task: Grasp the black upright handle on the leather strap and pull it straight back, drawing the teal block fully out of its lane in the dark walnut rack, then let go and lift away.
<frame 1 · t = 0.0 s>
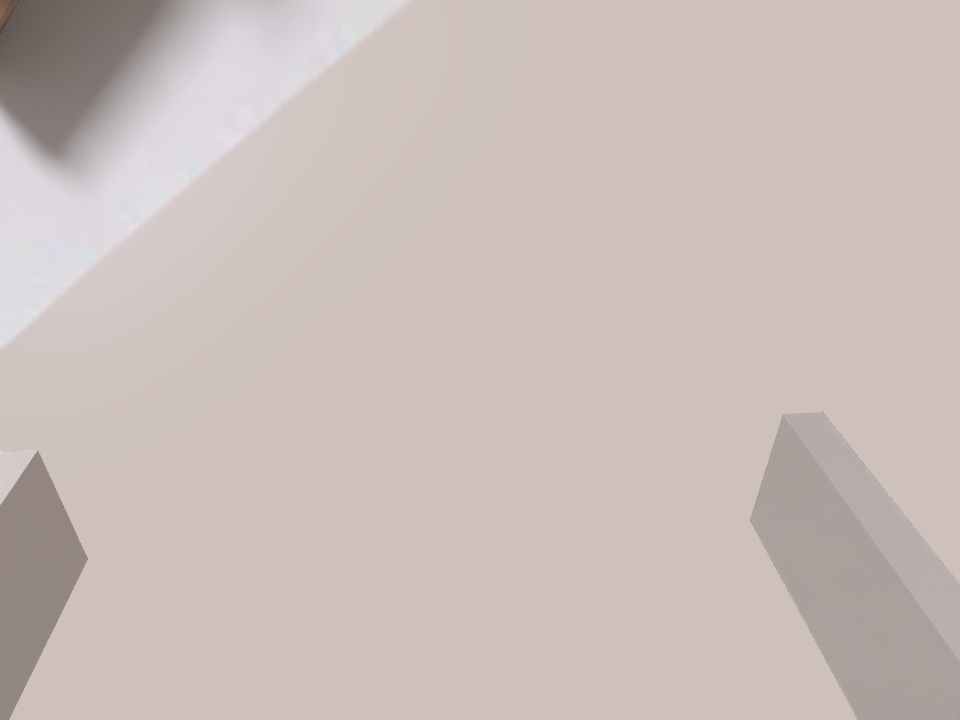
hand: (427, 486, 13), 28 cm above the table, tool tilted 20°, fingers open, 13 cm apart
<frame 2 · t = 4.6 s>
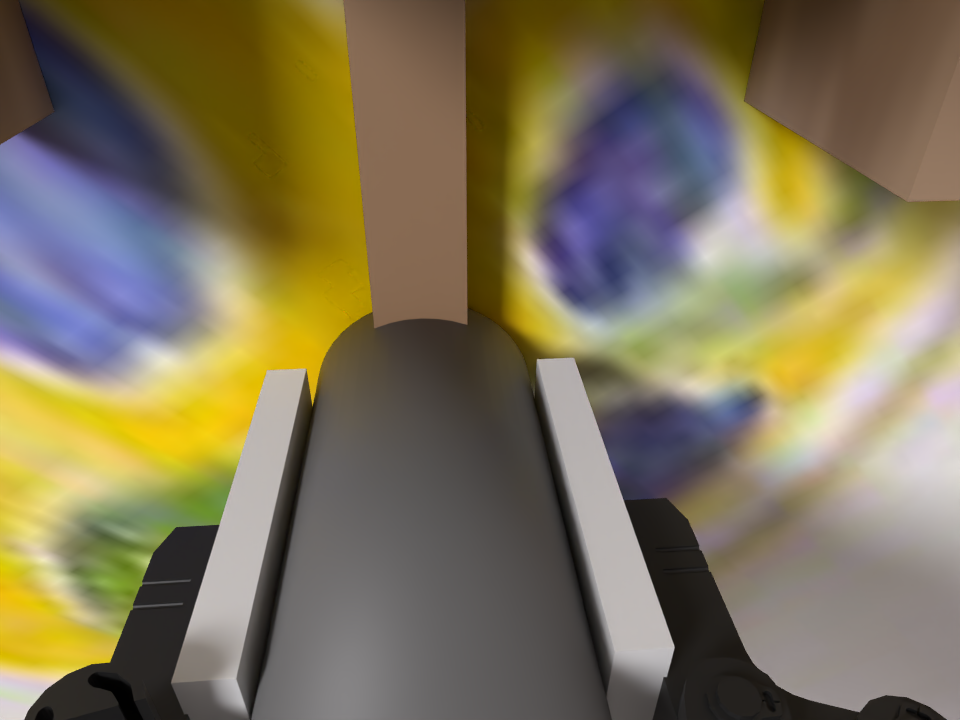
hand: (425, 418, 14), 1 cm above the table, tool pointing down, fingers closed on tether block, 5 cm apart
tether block: (403, 88, 7), point 5 cm above the table, slide at 0.0 cm, touching gripper
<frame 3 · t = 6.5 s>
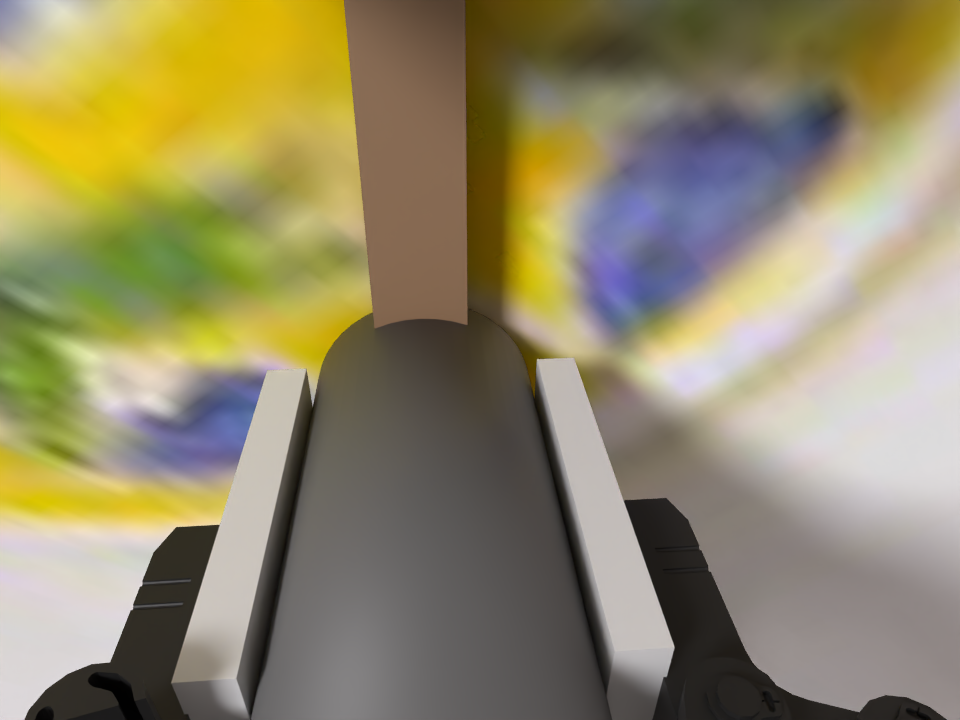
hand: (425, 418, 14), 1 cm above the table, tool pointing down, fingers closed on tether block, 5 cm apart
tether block: (403, 87, 7), point 5 cm above the table, slide at 6.6 cm, touching gripper
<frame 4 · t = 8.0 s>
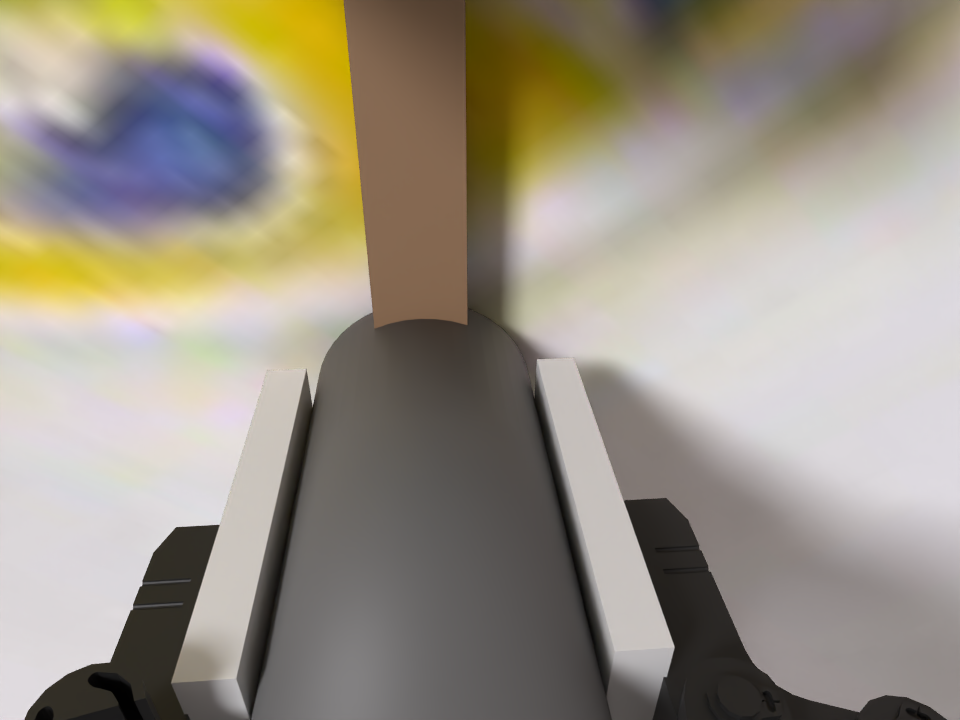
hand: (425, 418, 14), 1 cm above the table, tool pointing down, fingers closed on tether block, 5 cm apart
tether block: (403, 88, 7), point 5 cm above the table, slide at 12.9 cm, touching gripper
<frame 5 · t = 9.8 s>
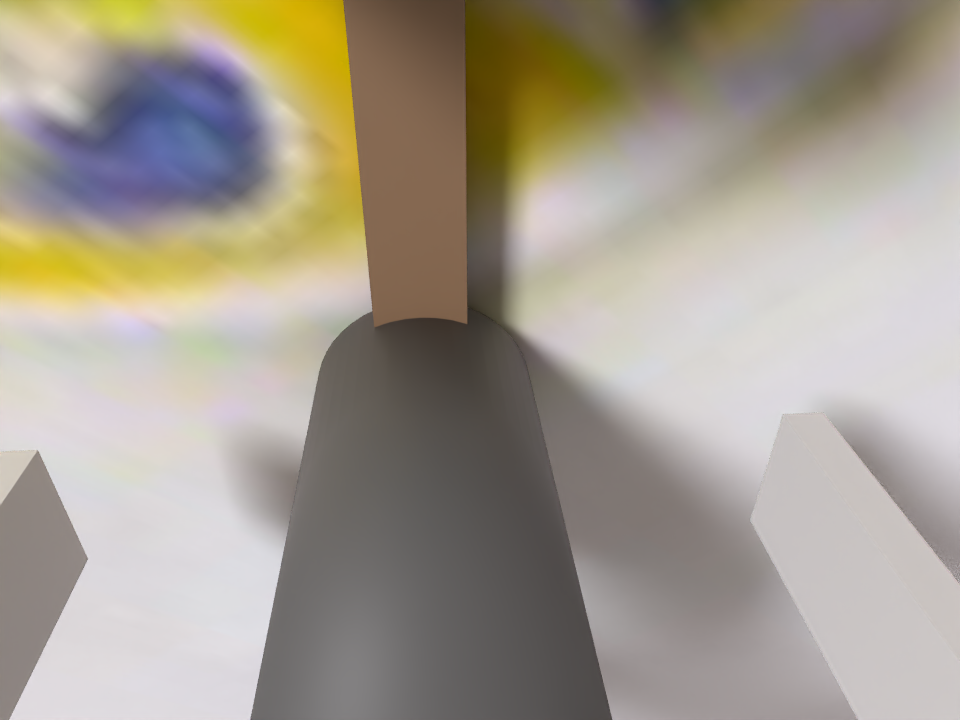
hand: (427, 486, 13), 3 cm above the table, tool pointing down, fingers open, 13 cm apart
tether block: (403, 86, 7), point 5 cm above the table, slide at 13.0 cm
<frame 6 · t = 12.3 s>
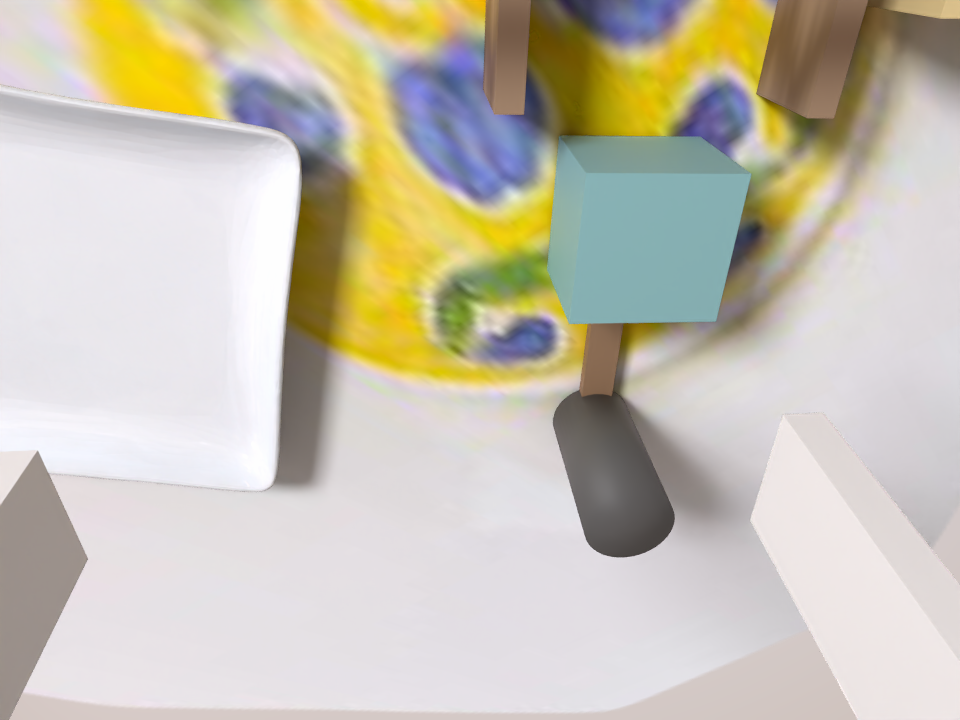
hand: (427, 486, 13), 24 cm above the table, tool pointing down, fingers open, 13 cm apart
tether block: (626, 354, 35), point 5 cm above the table, slide at 13.0 cm
salad plate: (89, 283, 36), on the table
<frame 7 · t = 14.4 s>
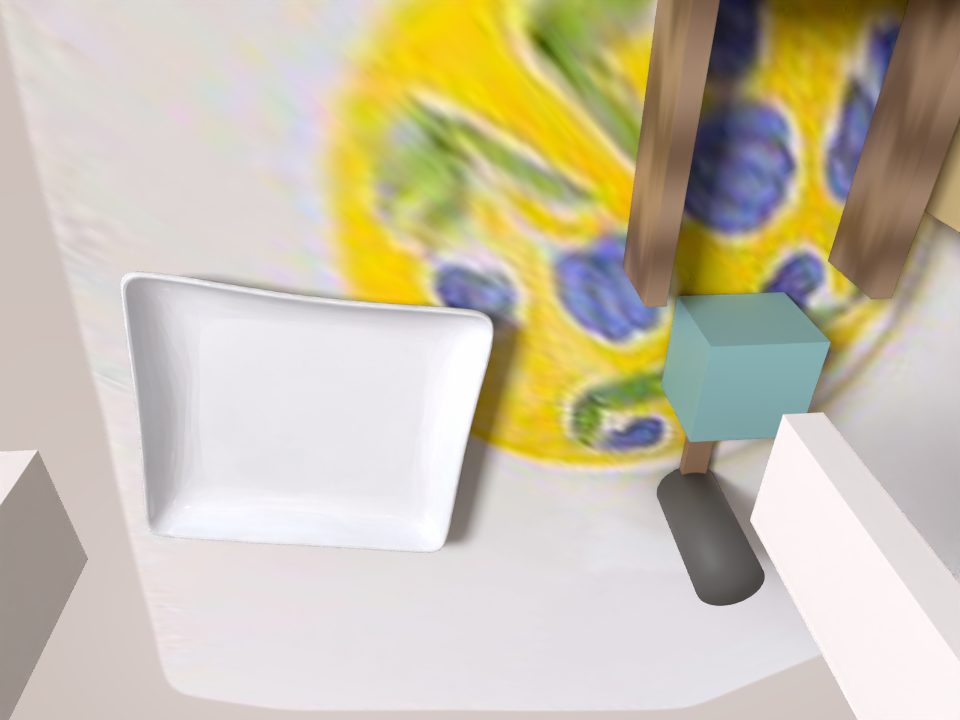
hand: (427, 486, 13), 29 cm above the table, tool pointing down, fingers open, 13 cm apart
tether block: (727, 455, 46), point 5 cm above the table, slide at 13.0 cm
salad plate: (313, 404, 48), on the table
lane rack: (883, 114, 39), on the table
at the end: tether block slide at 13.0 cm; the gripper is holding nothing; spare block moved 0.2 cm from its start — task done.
